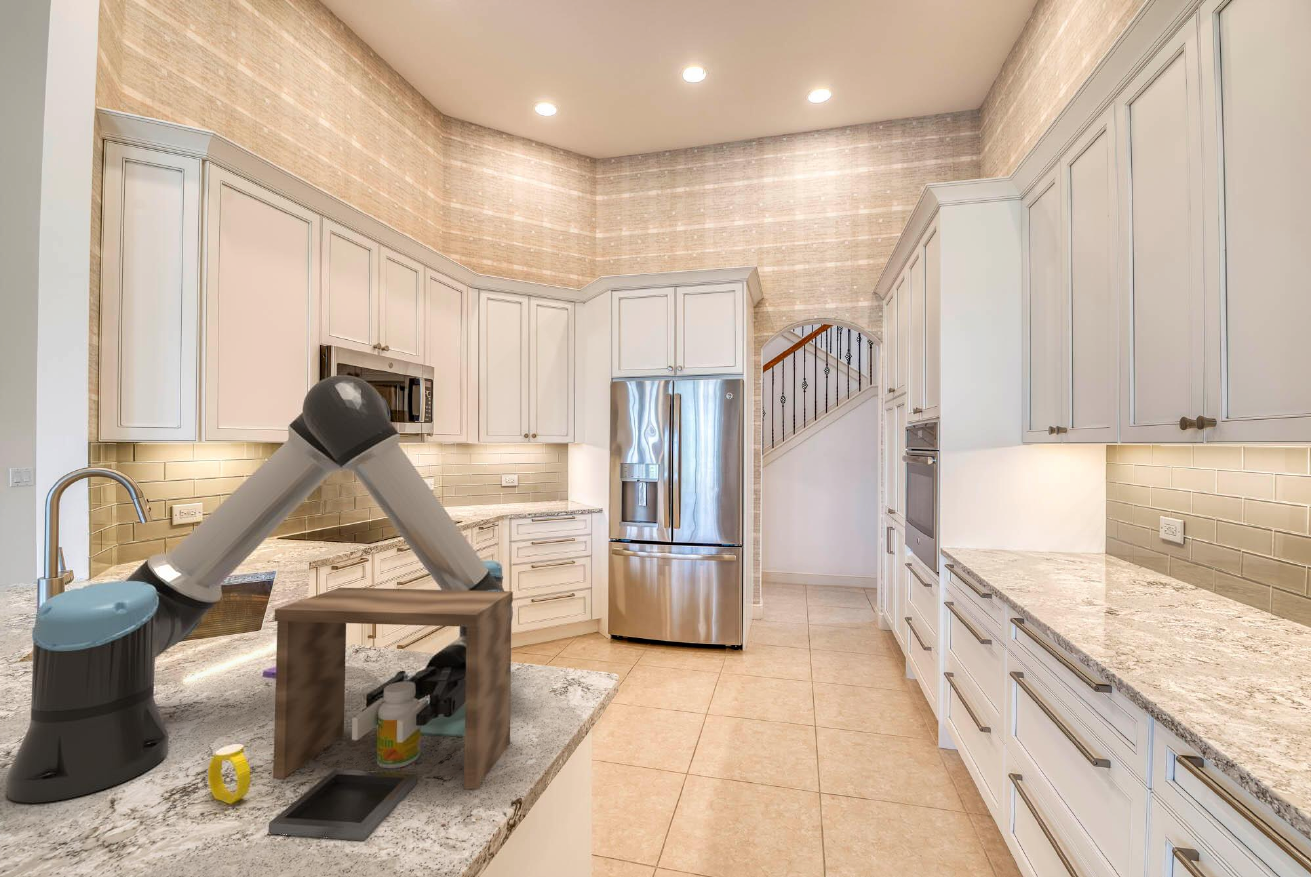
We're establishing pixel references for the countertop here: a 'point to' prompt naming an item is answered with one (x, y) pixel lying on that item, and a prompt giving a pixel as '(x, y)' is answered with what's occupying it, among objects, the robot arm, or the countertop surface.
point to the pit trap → (344, 805)
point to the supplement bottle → (393, 709)
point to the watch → (241, 769)
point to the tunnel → (319, 624)
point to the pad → (446, 724)
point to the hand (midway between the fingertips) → (377, 730)
